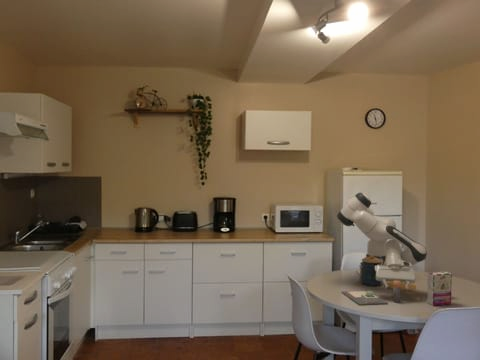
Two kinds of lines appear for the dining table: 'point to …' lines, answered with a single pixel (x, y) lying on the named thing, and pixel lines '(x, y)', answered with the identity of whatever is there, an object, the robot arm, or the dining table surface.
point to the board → (363, 298)
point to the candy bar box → (439, 288)
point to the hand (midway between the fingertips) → (396, 288)
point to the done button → (369, 293)
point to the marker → (396, 291)
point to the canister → (369, 271)
